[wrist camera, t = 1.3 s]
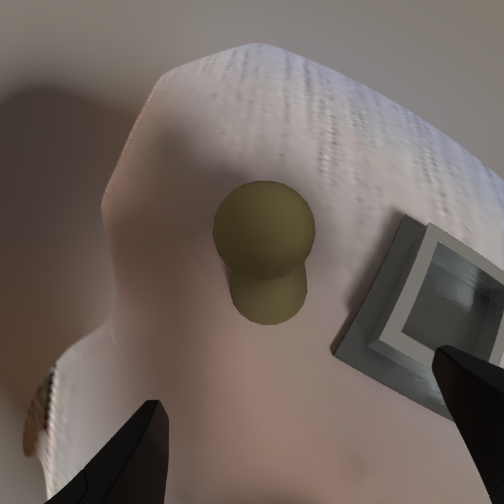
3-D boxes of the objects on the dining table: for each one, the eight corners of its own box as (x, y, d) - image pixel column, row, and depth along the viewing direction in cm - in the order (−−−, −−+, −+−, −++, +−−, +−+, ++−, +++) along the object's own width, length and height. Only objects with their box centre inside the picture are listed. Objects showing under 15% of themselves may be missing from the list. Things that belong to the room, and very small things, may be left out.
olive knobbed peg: (226, 258, 26) (195, 173, 16) (299, 246, 26) (310, 155, 16) (234, 330, 23) (202, 282, 13) (314, 317, 23) (342, 260, 13)
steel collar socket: (466, 428, 18) (490, 430, 14) (332, 355, 22) (342, 349, 19) (512, 289, 22) (534, 276, 19) (403, 217, 26) (416, 195, 23)
